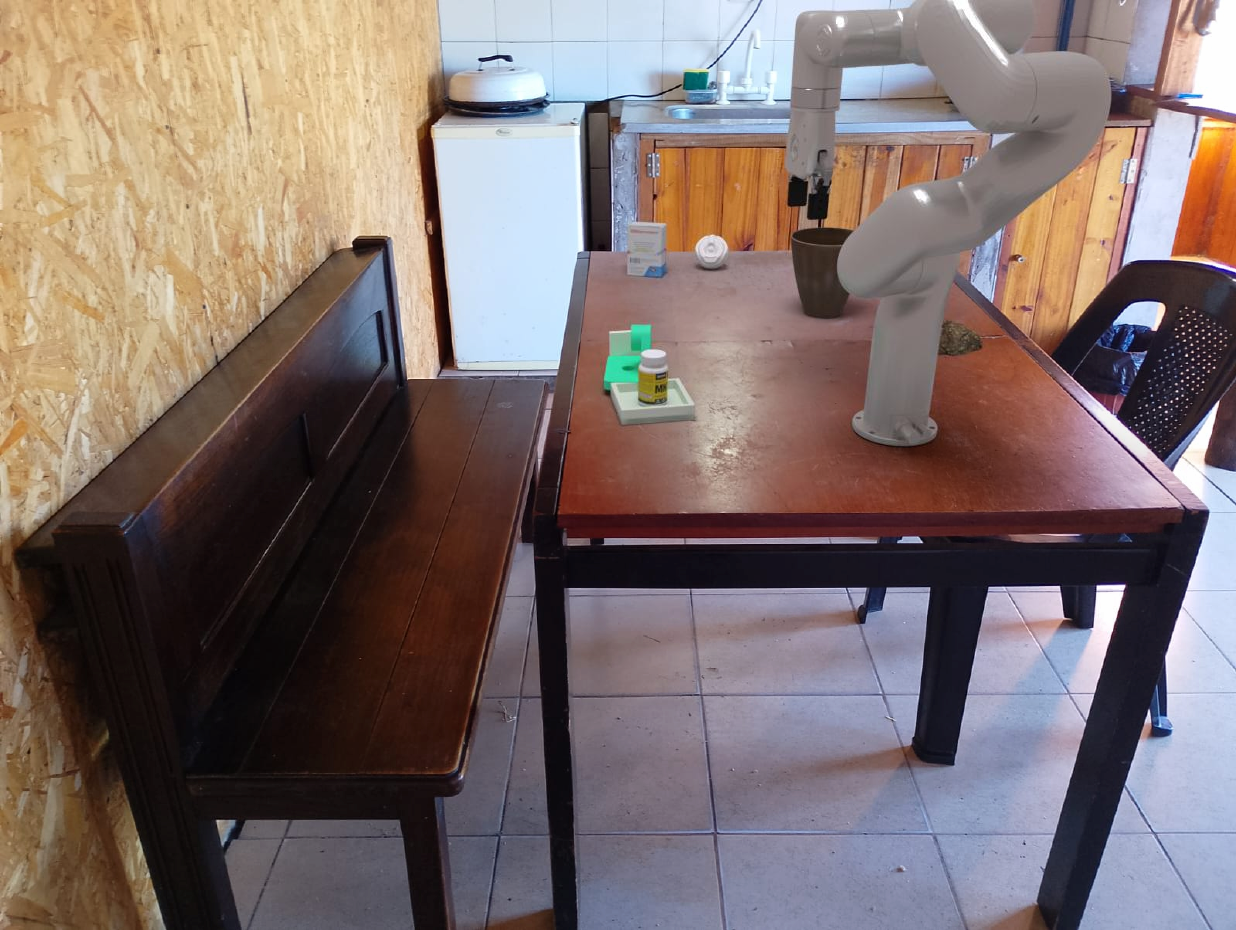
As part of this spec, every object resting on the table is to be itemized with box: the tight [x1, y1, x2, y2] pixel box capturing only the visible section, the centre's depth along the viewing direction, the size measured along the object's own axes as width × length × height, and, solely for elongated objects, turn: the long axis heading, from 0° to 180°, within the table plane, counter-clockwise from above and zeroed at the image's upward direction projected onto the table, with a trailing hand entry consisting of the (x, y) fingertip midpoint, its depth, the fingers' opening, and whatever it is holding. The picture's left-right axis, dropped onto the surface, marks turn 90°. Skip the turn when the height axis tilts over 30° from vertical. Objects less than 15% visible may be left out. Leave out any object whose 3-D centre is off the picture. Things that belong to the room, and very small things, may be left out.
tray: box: [610, 377, 696, 426], centre depth 156 cm, size 12×12×2 cm
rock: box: [938, 318, 983, 356], centre depth 181 cm, size 13×12×5 cm
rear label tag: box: [608, 329, 641, 356], centre depth 171 cm, size 1×6×7 cm, turn 99°
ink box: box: [626, 221, 668, 278], centre depth 225 cm, size 9×5×12 cm, turn 72°
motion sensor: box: [694, 234, 729, 270], centre depth 230 cm, size 8×8×8 cm
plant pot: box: [790, 227, 855, 319], centre depth 196 cm, size 15×15×16 cm
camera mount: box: [603, 324, 652, 391], centre depth 164 cm, size 12×8×10 cm, turn 177°
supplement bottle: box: [638, 348, 669, 407], centre depth 154 cm, size 5×5×8 cm
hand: (806, 212), depth 156 cm, fingers open, 9 cm apart
